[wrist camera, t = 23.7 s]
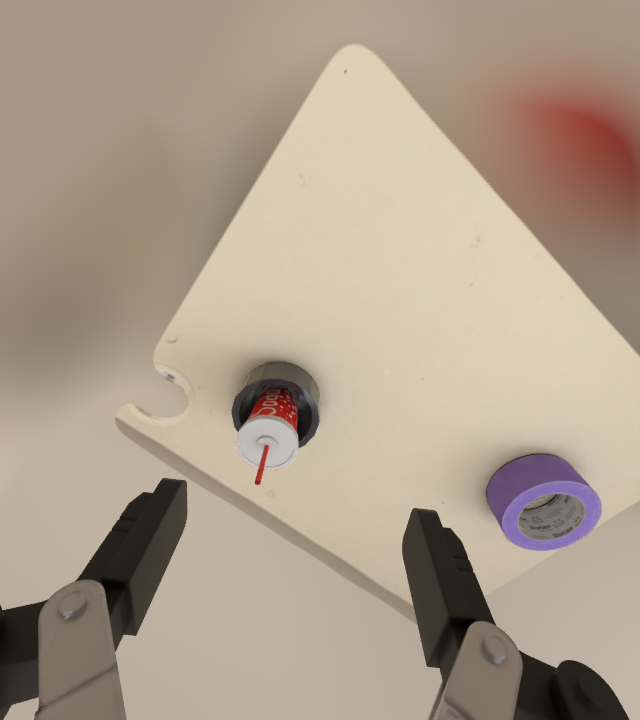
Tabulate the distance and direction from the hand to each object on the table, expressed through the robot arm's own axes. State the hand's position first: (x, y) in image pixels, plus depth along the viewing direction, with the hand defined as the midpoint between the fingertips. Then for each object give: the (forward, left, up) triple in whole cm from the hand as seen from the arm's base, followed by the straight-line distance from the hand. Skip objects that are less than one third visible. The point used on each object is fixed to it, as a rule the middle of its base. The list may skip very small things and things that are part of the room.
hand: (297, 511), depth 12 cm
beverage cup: (-1, -12, -28) cm, 30 cm away
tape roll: (+35, -15, -28) cm, 47 cm away
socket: (-1, -12, -28) cm, 31 cm away
